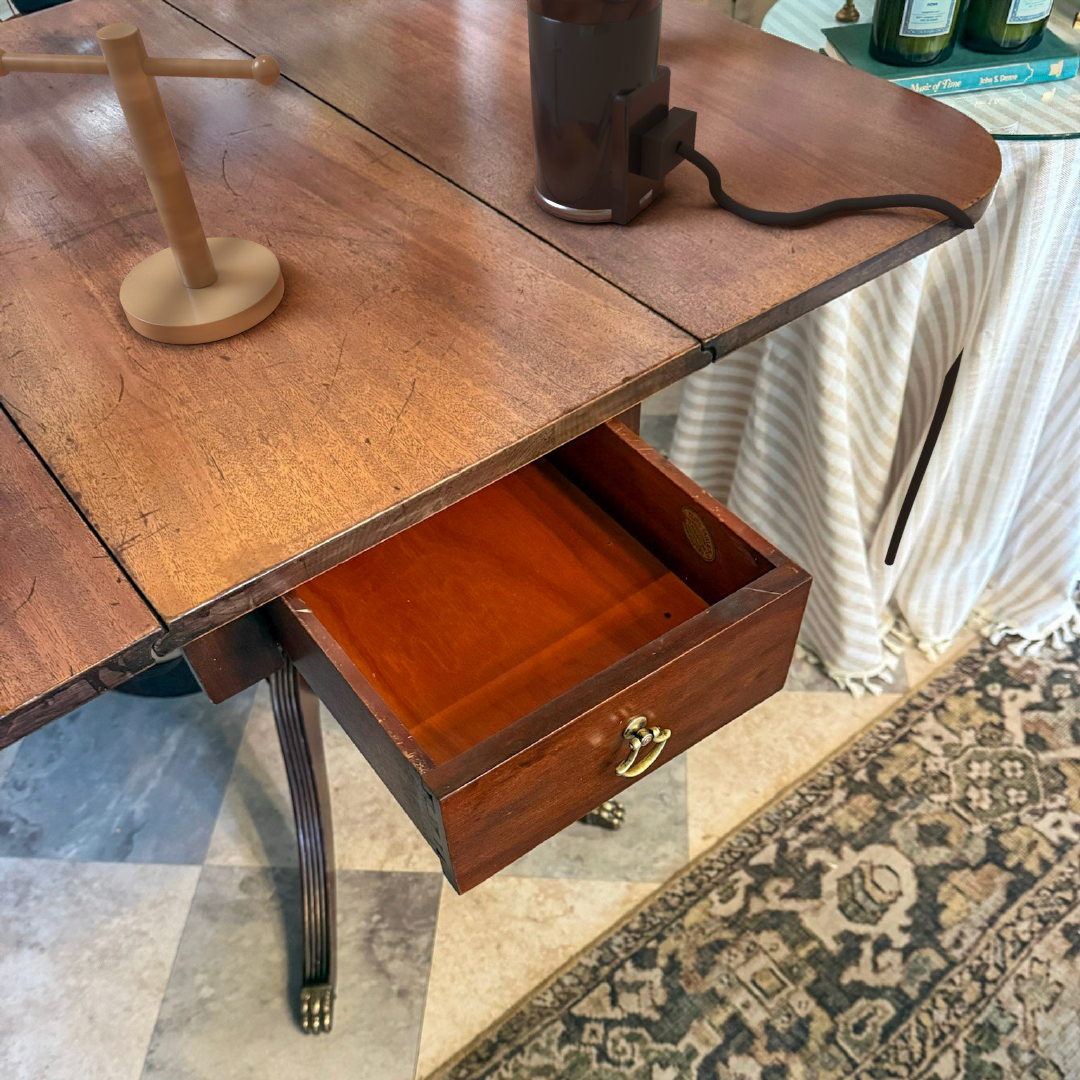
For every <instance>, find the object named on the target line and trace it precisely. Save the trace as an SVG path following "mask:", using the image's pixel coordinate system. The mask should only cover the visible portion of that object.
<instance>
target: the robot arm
mask: <svg viewBox="0 0 1080 1080" xmlns="http://www.w3.org/2000/svg"><path fill="white" fill-rule="evenodd" d="M526 10H527V12H526V13H527V14H526V15H527V32H528V35H527V36H528V55H529V58H528V59H529V78H530V79H529V81H530V102H531V104H530V105H531V125H532V126H531V127H532V147H533V163H534V168H533V169H534V178H533V191H534V192H533V193H534V194H533V195H534V198H535V202H536V203H537V204H538V206H539V207H540V208H541V209H543V210H544V212H547V213H548V214H550V215H552V216H555V217H556V218H559V219H563V220H566V221H570V222H576V223H577V222H578V223H587V224H588V223H589V224H591V223H593V224H594V223H596V224H597V223H616V224H619V225H622V226H623V225H624V226H625V225H627V224H628V223H629V222H630V221H632V220H633V219H634V218H635V217H636V216H637V215H638V214H639V213H641V212H642V211H643V210H645V209H646V208H647V207H648V206H649V205H650V204H651V203H652V202H653V201H654V200H655V199H657V198H658V197H659V196H660V195H661V194H662V193H663V192H664V191H665V187H666V185H665V183H666V177H667V176H668V175H669V174H670V173H671V172H672V171H673V170H674V169H676V168H677V167H678V166H679V165H680V164H681V163H682V162H684V161H685V160H686V161H687V162H689V163H691V164H692V165H693V166H695V167H696V168H698V169H699V170H700V171H701V172H702V173H703V174H704V175H705V176H706V178H707V181H708V189H709V190H708V191H709V193H710V196H711V198H712V199H713V200H714V201H715V202H716V203H717V204H718V205H719V206H721V207H722V208H723V209H724V210H726V211H728V212H729V213H731V214H733V215H735V216H736V217H739V218H741V219H743V220H746V221H749V222H751V223H755V224H761V225H773V226H787V227H788V226H789V227H790V226H800V225H804V224H809V223H812V222H815V221H817V220H820V219H823V218H826V217H829V216H831V215H835V214H838V213H844V212H855V211H869V210H871V211H872V210H881V209H892V208H893V209H894V208H920V209H927V210H929V211H930V210H931V211H934V212H937V213H939V214H942V215H944V216H946V217H947V218H949V219H950V220H951V221H953V222H954V223H955V224H956V226H957V227H959V228H961V229H962V230H967V231H968V230H974V229H975V228H976V226H975V223H974V222H973V221H972V219H971V218H970V216H969V215H968V214H967V213H966V212H965V211H964V210H963V209H961V208H960V207H958V205H956V204H954V203H952V202H950V201H949V200H946V199H944V198H941V197H938V196H933V195H929V194H921V193H897V194H896V193H895V194H885V195H875V196H864V197H862V196H861V197H849V198H840V199H835V200H831V201H827V202H824V203H822V204H819V205H816V206H814V207H810V208H808V209H804V210H801V211H794V212H785V211H784V212H782V211H769V210H762V209H755V208H752V207H748V206H745V205H743V204H741V203H739V202H738V201H736V200H735V199H734V198H732V197H731V195H728V194H727V193H726V192H725V190H724V189H723V188H722V178H721V174H720V172H719V169H718V168H717V167H716V165H715V164H714V163H713V162H711V160H709V158H707V157H706V156H705V155H703V154H702V153H700V152H699V151H697V150H696V149H695V148H696V135H697V134H696V133H697V132H696V131H697V121H698V112H697V111H694V110H691V109H686V108H682V107H678V106H672V107H671V108H670V98H671V97H670V96H671V95H670V94H671V79H672V78H671V77H672V72H671V71H672V70H671V68H670V67H669V66H668V65H664V64H661V63H660V61H661V40H662V21H663V0H526ZM964 348H965V346H963V347H962V349H961V351H960V352H959V353H958V355H957V357H956V358H955V360H954V361H953V363H951V366H950V367H949V369H948V370H947V373H946V374H945V376H944V380H943V382H942V386H941V391H940V394H939V396H938V397H939V398H938V400H937V404H936V408H935V410H934V413H933V417H932V420H931V423H930V426H929V429H928V431H927V435H926V438H925V441H924V443H923V445H922V449H921V452H920V456H919V457H918V460H917V463H916V466H915V468H914V471H913V474H912V477H911V480H910V481H909V485H908V487H907V491H906V493H905V496H904V499H903V501H902V504H901V508H900V510H899V512H898V516H897V519H896V521H895V525H894V528H893V531H892V534H891V538H890V541H889V544H888V547H887V551H886V554H885V558H884V565H886V566H893V565H894V563H895V561H896V557H897V554H898V550H899V548H900V545H901V542H902V538H903V535H904V531H905V530H906V526H907V523H908V520H909V517H910V516H911V513H912V509H913V507H914V504H915V501H916V498H917V496H918V493H919V490H920V487H921V485H922V482H923V480H924V476H925V475H926V471H927V468H928V466H929V463H930V461H931V458H932V455H933V454H934V453H933V452H934V451H935V448H936V446H937V445H936V444H937V442H938V439H939V437H940V433H941V430H942V428H943V425H944V422H945V419H946V416H947V413H948V409H949V406H950V403H951V400H952V397H953V393H954V390H955V386H956V383H957V380H958V375H959V372H960V367H961V363H962V360H963V359H962V358H963V354H964Z"/></svg>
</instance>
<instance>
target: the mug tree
mask: <svg viewBox="0 0 1080 1080" xmlns="http://www.w3.org/2000/svg"><path fill="white" fill-rule="evenodd" d="M141 33H142V32H141V30H140V27H139V26H138V25H137V24H135V23H133V22H116V23H111V24H108V25H105V26H102V27H101V28H100V29H98V30H97V31H96V33H95V36H96V39H97V42H98V45H99V47H100V50H101V54H102V55H88V54H87V55H86V54H85V55H83V54H55V53H54V54H53V53H52V54H51V53H15V52H7V51H6V50H4V49H3V48H0V78H1V77H2V78H3V77H6V76H8V75H9V74H10V73H12V72H13V73H42V74H43V73H44V74H75V75H104V76H105V75H108V76H110V79H111V82H112V85H113V88H114V91H115V93H116V96H117V99H118V103H119V105H120V108H121V110H122V113H123V116H124V118H125V122H126V125H127V128H128V131H129V133H130V137H131V139H132V142H133V144H134V148H135V151H136V153H137V156H138V159H139V162H140V164H141V168H142V171H143V173H144V176H145V179H146V182H147V185H148V187H149V191H150V193H151V197H152V199H153V202H154V205H155V208H156V210H157V213H158V216H159V219H160V222H161V224H162V228H163V229H164V230H163V231H164V233H165V236H166V239H167V242H168V244H169V247H166V248H164V249H161V250H159V251H157V252H155V253H153V254H150V255H149V256H148V257H146V258H145V259H143V260H142V261H140V262H139V263H138V264H136V265H135V266H134V267H133V268H132V269H131V270H130V271H129V272H128V273H127V274H126V276H125V277H124V279H123V280H122V283H121V285H120V289H119V300H120V304H121V306H122V309H123V311H124V314H125V316H126V319H127V321H128V323H129V325H130V326H131V327H132V329H133V330H135V332H137V333H139V335H141V336H143V337H145V338H147V339H150V340H152V341H156V342H159V343H162V344H163V343H164V344H170V345H198V344H205V343H211V342H216V341H219V340H224V339H227V338H230V337H233V336H235V335H238V334H241V333H242V332H245V331H247V330H249V329H251V328H253V327H254V326H256V325H258V324H260V323H261V322H263V321H264V320H265V319H266V318H268V317H269V316H270V315H271V314H272V313H273V312H274V311H275V310H276V308H277V307H278V306H279V304H280V303H281V301H282V299H283V297H284V293H285V279H284V277H283V273H282V268H281V265H280V261H279V259H278V258H277V256H276V255H275V254H274V252H273V251H271V250H270V249H269V248H268V247H267V246H265V245H262V244H260V243H258V242H255V241H253V240H249V239H246V238H245V239H244V238H240V237H230V236H229V237H228V236H227V237H225V236H223V237H222V236H217V237H215V236H214V237H206V234H205V231H204V228H203V225H202V222H201V219H200V215H199V213H198V209H197V206H196V203H195V200H194V196H193V194H192V193H193V192H192V190H191V187H190V183H189V181H188V178H187V174H186V171H185V169H184V165H183V162H182V158H181V156H180V152H179V149H178V146H177V144H176V140H175V137H174V134H173V131H172V127H171V124H170V121H169V118H168V115H167V111H166V109H165V105H164V102H163V99H162V95H161V93H160V90H159V88H158V83H157V80H156V77H168V78H169V77H170V78H171V77H172V78H178V77H179V78H202V79H203V78H205V79H232V80H233V79H236V80H255V81H256V82H258V83H259V84H260V85H263V86H272V85H275V84H276V82H277V81H278V80H279V78H280V76H281V67H280V64H279V62H278V61H277V60H276V59H275V58H274V57H273V56H271V55H269V54H260V55H258V56H256V57H255V58H254V59H232V58H231V59H229V58H227V59H225V58H193V57H188V58H187V57H161V56H160V57H157V56H156V57H155V56H148V51H147V49H146V46H145V42H144V40H143V36H142V34H141Z"/></svg>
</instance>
